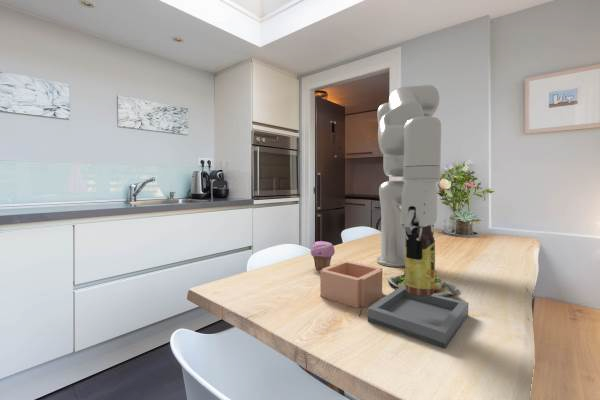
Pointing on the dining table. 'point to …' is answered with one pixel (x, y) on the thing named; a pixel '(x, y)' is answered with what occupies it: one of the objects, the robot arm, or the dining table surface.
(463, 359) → the dining table surface
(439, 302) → the tray
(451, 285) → the salad plate
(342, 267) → the square terracotta planter
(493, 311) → the dining table surface
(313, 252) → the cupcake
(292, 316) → the dining table surface
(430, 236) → the sauce bottle
